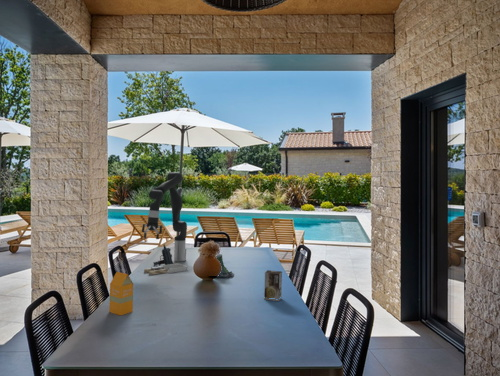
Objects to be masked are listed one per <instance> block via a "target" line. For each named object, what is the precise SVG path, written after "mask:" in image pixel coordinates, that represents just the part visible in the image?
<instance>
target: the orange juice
mask: <svg viewBox="0 0 500 376" xmlns="http://www.w3.org/2000/svg"><path fill="white" fill-rule="evenodd" d="M133 306H134V282H133V281H132V278H130V276H129V274H128V273H124V272H121V271H120V272H119V271H116V273H115V274H114V275H113V278H112V280H110V283H109V307H108V308H109V311H108V312H109V313H111V314H114V315H118V316H123V315H126V314H130V313H132V312H133V308H134V307H133Z"/></svg>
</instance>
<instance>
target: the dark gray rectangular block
mask: <svg viewBox="0 0 500 376" xmlns="http://www.w3.org/2000/svg"><path fill="white" fill-rule="evenodd" d="M150 268H151V271H154V270H158V269H159V268H158V267H157V266H151V267H150Z"/></svg>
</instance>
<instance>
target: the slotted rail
mask: <svg viewBox="0 0 500 376" xmlns="http://www.w3.org/2000/svg"><path fill="white" fill-rule="evenodd" d="M168 272H169V269H161V270H154V271H151V267H150V268H144V270H143V273H145V274H146V273H147V274H148V275H149V276H152V275H159V274H160V275H161V274H166V273H167V274H168Z"/></svg>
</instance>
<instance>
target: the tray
mask: <svg viewBox="0 0 500 376" xmlns="http://www.w3.org/2000/svg"><path fill="white" fill-rule="evenodd" d="M160 266H163V267H164V269H168V272H167V274H173V273H179V272H185V271H188V266H187V265H185V264H183V263H179V262H178V263H174V264H168V265H165V264H161V265H160Z"/></svg>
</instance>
